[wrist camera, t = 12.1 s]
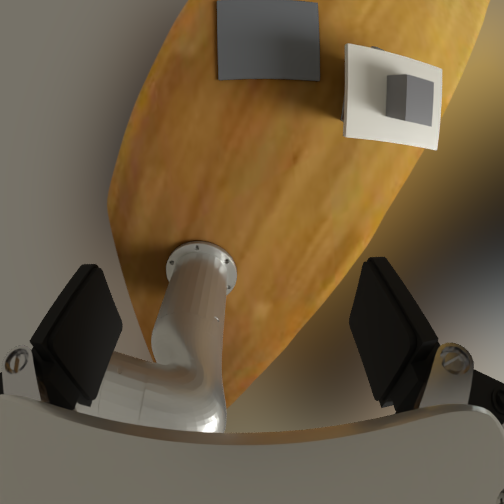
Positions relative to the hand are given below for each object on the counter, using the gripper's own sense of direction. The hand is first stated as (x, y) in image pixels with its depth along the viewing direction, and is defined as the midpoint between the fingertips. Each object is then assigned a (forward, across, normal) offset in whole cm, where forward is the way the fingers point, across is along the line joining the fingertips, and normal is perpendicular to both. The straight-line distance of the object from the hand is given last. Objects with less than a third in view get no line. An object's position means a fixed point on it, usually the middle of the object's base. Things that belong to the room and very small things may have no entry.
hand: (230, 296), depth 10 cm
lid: (+23, -18, -8) cm, 30 cm away
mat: (+33, -4, -16) cm, 37 cm away
